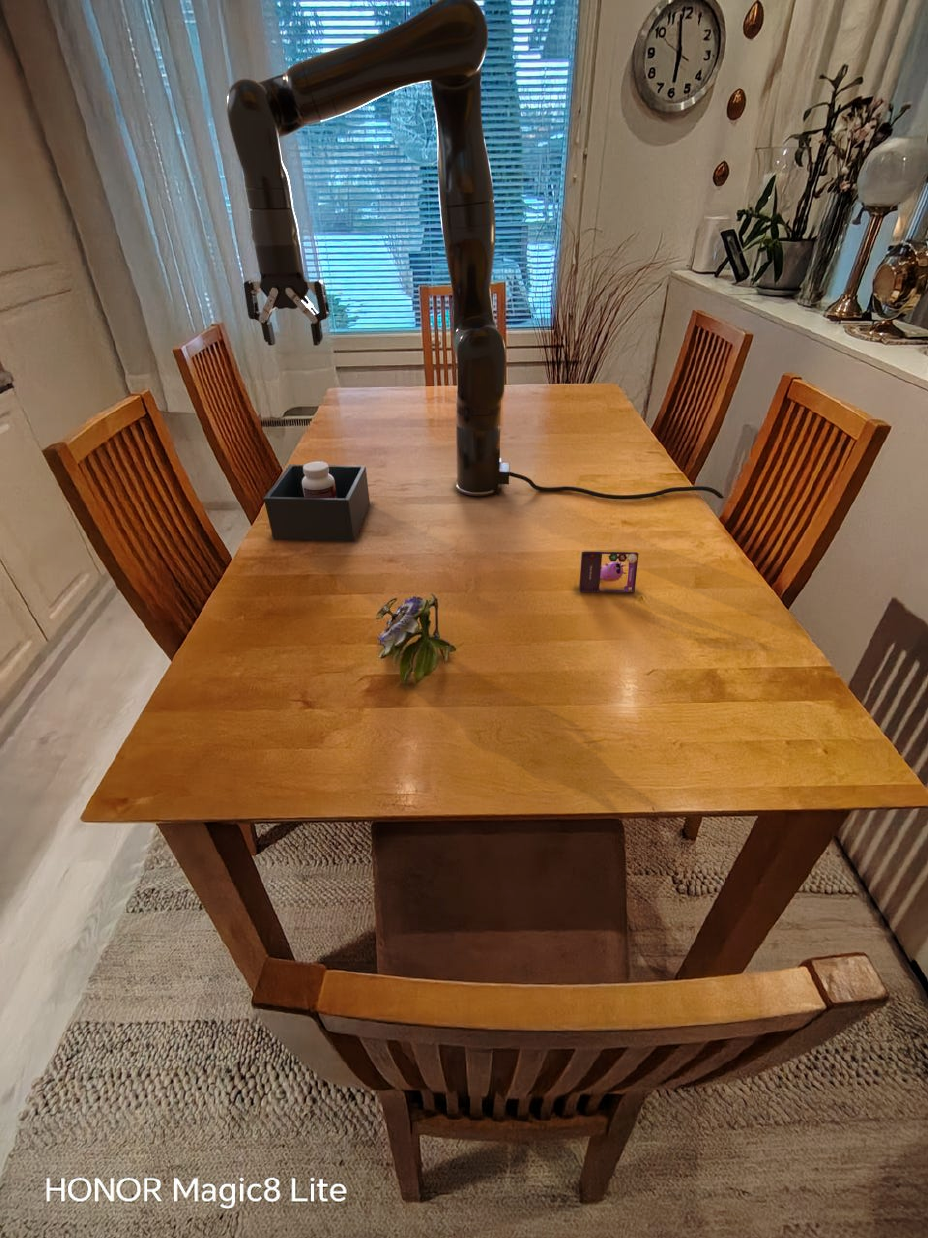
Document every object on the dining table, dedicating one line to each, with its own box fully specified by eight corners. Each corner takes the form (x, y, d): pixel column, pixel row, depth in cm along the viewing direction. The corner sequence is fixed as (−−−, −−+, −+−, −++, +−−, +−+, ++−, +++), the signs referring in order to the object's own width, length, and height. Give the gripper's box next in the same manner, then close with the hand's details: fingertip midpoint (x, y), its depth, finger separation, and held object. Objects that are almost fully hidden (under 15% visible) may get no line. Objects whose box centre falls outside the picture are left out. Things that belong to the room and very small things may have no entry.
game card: (582, 552, 94) (639, 553, 94) (578, 546, 99) (632, 547, 99) (579, 593, 96) (635, 594, 96) (575, 585, 101) (628, 586, 101)
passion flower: (395, 679, 88) (384, 599, 88) (466, 670, 87) (455, 589, 87) (373, 691, 77) (360, 601, 77) (453, 682, 76) (441, 589, 75)
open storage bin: (370, 504, 123) (365, 465, 118) (354, 541, 111) (348, 500, 106) (297, 502, 124) (289, 464, 119) (273, 539, 112) (263, 498, 107)
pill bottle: (345, 520, 116) (337, 467, 110) (316, 529, 114) (306, 475, 107) (332, 508, 121) (324, 457, 114) (303, 517, 118) (293, 464, 111)
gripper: (324, 238, 102) (337, 340, 111) (243, 238, 102) (263, 339, 112) (312, 242, 96) (327, 349, 105) (227, 243, 96) (249, 349, 106)
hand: (294, 344), depth 109 cm, fingers open, 8 cm apart
